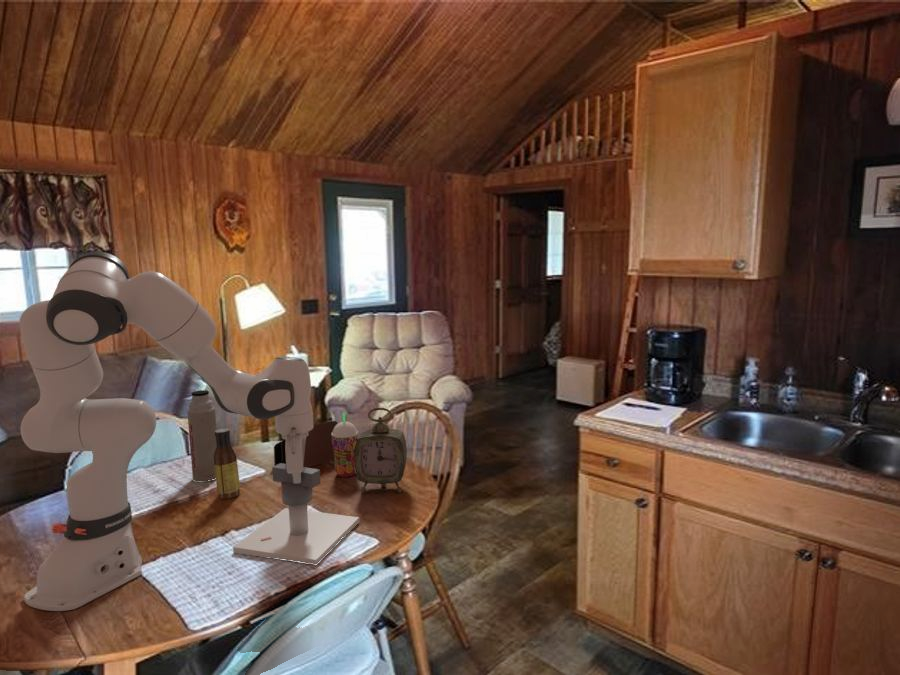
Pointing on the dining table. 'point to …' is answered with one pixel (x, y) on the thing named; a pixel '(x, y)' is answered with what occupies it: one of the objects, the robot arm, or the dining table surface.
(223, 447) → the sauce bottle
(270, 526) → the base
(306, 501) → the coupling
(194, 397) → the thermos bottle
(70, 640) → the dining table surface
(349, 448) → the smoothie
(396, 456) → the tabletop clock
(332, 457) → the letter holder
